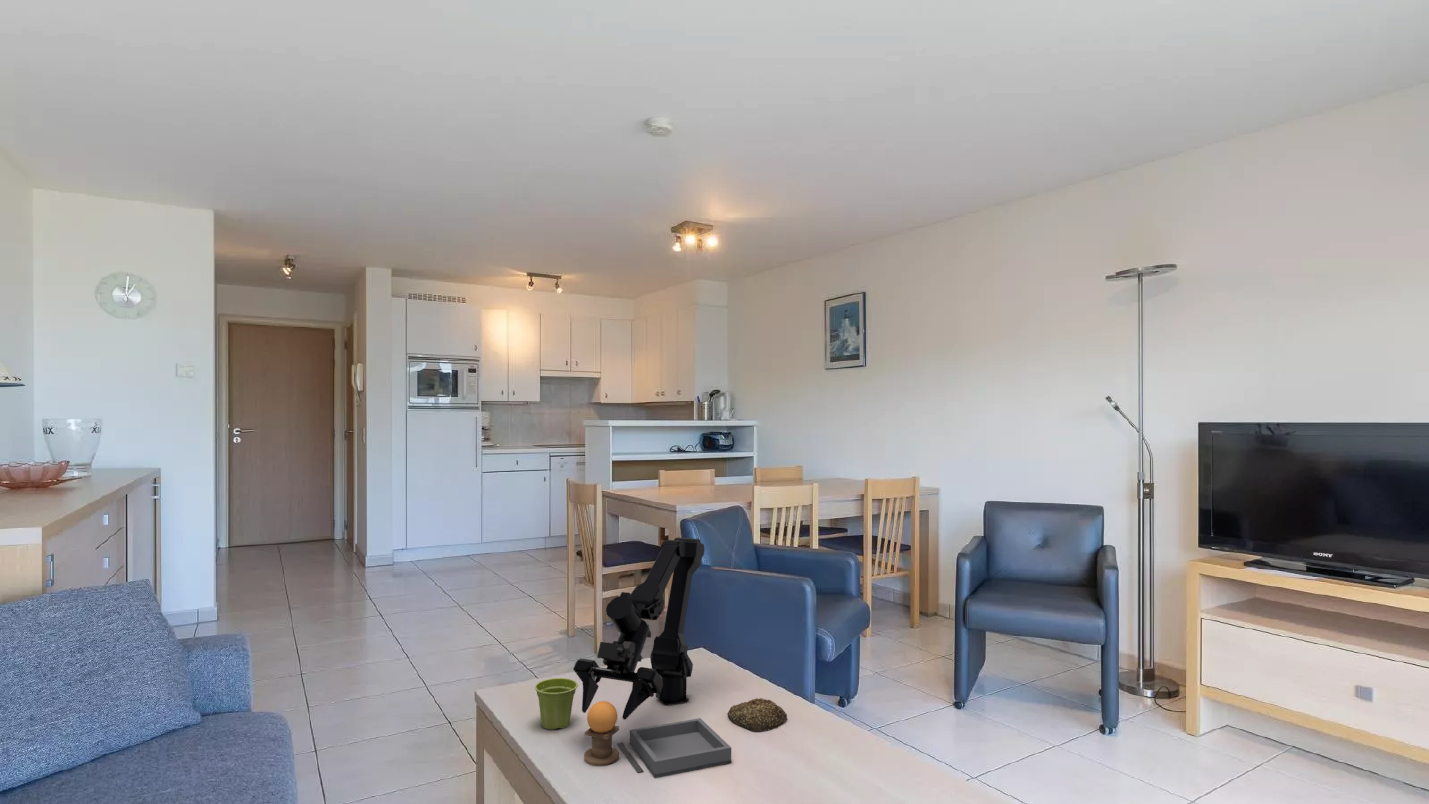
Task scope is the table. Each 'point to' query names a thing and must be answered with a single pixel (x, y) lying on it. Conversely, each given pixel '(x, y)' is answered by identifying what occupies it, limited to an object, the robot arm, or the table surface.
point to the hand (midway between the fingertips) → (603, 715)
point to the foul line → (630, 757)
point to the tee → (601, 748)
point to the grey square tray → (679, 747)
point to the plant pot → (555, 701)
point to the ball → (602, 717)
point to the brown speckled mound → (757, 714)
